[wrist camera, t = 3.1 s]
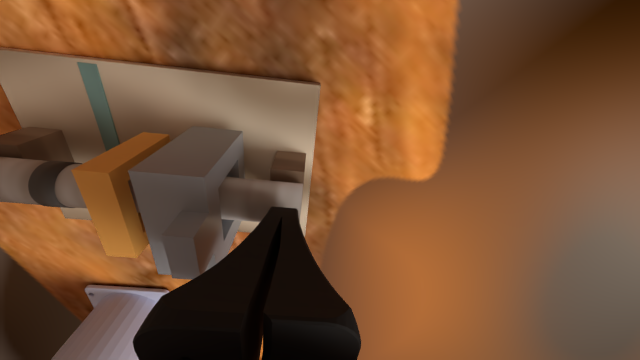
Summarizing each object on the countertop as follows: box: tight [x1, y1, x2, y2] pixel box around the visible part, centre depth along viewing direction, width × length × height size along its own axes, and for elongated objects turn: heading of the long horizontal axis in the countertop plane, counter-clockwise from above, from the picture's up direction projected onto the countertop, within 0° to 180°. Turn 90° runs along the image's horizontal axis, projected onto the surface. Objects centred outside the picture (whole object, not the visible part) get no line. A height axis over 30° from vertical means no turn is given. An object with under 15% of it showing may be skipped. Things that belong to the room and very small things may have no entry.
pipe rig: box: [0, 47, 320, 237], centre depth 16 cm, size 12×19×6 cm, turn 84°
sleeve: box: [128, 126, 245, 279], centre depth 14 cm, size 6×3×8 cm, turn 174°
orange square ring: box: [71, 132, 171, 258], centre depth 14 cm, size 5×2×5 cm, turn 174°
